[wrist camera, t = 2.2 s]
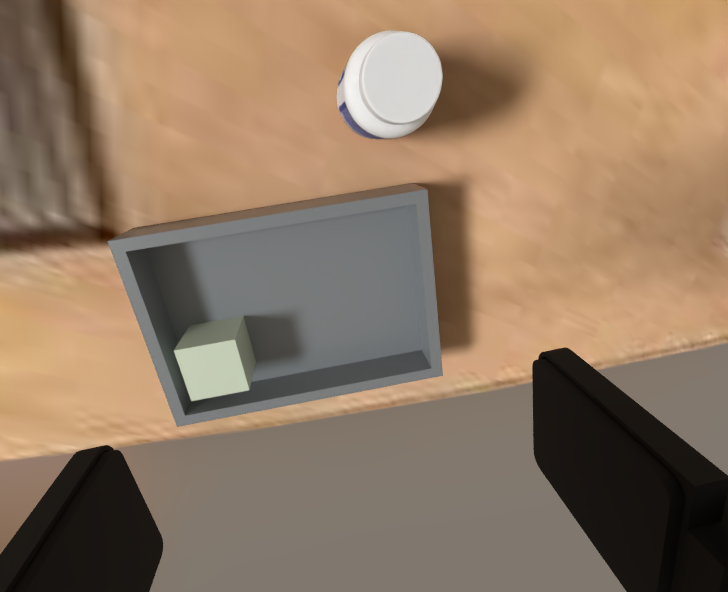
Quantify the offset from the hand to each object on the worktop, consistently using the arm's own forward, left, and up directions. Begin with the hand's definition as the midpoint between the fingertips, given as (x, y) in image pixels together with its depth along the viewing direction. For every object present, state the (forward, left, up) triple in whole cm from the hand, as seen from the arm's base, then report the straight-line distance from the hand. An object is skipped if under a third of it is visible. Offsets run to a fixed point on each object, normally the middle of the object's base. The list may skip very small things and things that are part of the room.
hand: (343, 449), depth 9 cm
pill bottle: (-5, -9, -23) cm, 25 cm away
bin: (+3, +4, -23) cm, 24 cm away
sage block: (+9, +7, -22) cm, 25 cm away
